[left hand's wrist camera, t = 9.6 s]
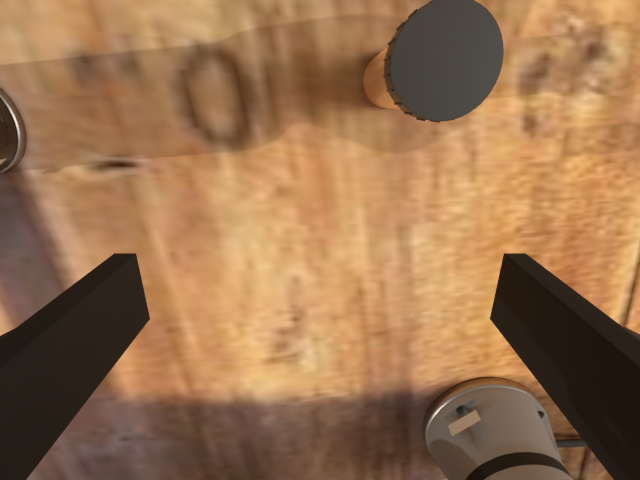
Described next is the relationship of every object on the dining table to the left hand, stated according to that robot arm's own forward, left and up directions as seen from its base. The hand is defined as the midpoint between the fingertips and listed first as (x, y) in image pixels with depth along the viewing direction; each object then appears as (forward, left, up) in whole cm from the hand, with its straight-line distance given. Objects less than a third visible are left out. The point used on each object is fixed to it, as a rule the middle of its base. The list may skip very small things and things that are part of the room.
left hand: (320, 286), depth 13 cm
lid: (-5, -9, -8) cm, 13 cm away
